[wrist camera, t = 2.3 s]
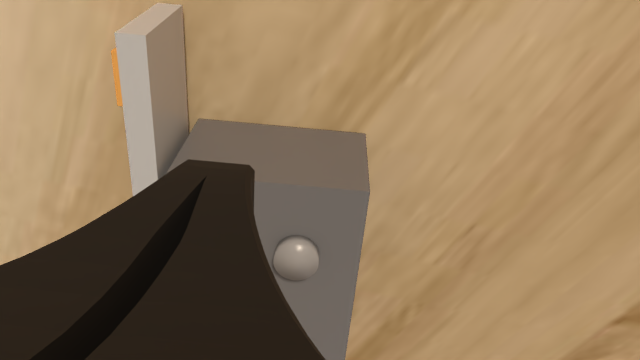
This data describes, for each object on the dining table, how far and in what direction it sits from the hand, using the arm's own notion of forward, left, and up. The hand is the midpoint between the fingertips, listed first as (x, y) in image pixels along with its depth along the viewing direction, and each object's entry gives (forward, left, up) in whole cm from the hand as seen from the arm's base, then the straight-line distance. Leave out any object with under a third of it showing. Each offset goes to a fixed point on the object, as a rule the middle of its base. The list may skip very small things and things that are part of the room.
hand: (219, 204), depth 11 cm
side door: (-5, +3, -8) cm, 10 cm away
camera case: (-7, -1, -8) cm, 11 cm away
